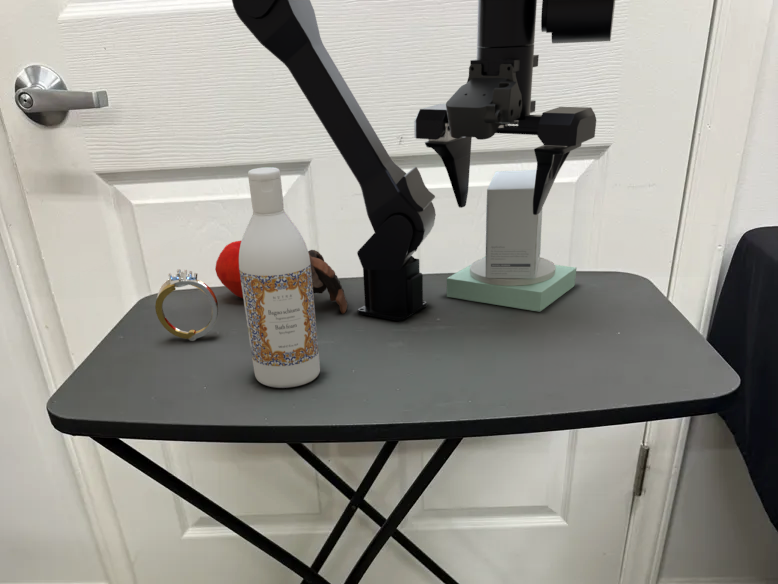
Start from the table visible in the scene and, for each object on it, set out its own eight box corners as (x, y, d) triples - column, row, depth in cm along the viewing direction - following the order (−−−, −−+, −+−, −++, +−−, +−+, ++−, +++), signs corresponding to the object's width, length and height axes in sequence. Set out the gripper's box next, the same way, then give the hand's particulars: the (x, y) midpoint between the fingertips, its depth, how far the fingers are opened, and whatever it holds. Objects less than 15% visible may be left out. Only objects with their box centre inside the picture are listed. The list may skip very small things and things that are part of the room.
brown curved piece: (350, 325, 94) (312, 272, 89) (288, 355, 98) (248, 306, 93) (357, 271, 102) (322, 219, 97) (299, 301, 106) (262, 252, 101)
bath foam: (258, 393, 78) (228, 180, 67) (252, 367, 84) (222, 167, 72) (325, 384, 79) (307, 173, 68) (314, 359, 85) (295, 160, 73)
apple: (213, 307, 101) (203, 248, 97) (232, 287, 107) (223, 232, 103) (272, 307, 100) (264, 248, 95) (287, 288, 106) (281, 231, 102)
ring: (224, 333, 93) (212, 265, 88) (220, 342, 90) (208, 273, 86) (166, 336, 93) (152, 269, 88) (161, 346, 90) (146, 277, 86)
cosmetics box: (491, 254, 103) (494, 169, 97) (540, 255, 102) (547, 168, 96) (482, 278, 95) (485, 187, 89) (535, 280, 94) (542, 186, 88)
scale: (445, 296, 100) (446, 271, 98) (485, 273, 107) (485, 249, 105) (540, 312, 94) (542, 285, 92) (574, 286, 101) (577, 261, 99)
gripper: (383, 53, 77) (389, 219, 86) (561, 51, 68) (546, 236, 77) (440, 44, 84) (439, 198, 93) (606, 41, 75) (588, 211, 84)
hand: (498, 210), depth 87 cm, fingers open, 9 cm apart
